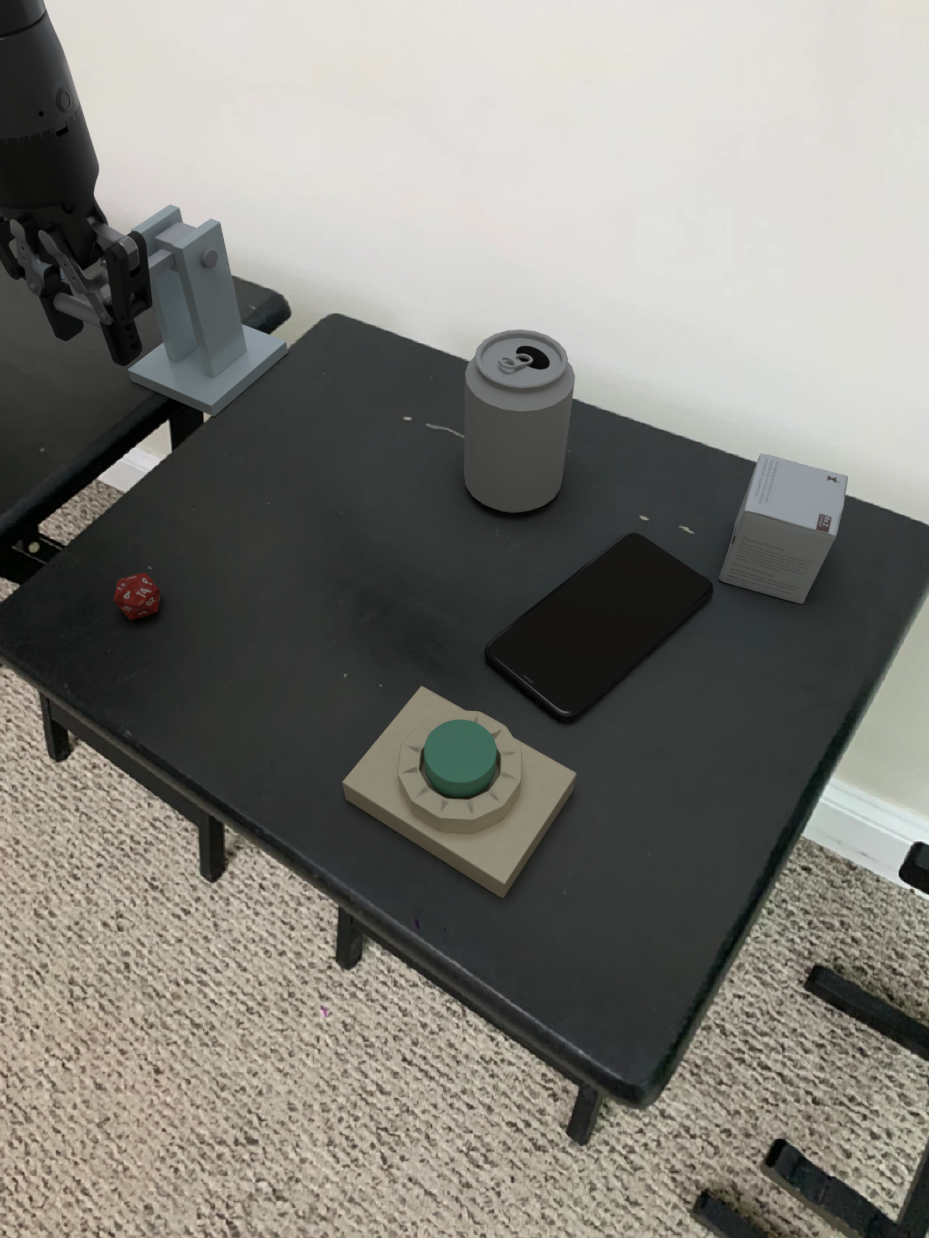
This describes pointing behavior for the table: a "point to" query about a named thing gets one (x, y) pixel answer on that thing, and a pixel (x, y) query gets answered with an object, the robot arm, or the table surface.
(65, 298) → the flush lever
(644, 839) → the table surface
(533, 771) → the green push button box
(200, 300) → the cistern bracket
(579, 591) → the smartphone
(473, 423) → the can
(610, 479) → the table surface
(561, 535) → the table surface
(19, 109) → the robot arm
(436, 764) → the flush button
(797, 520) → the white cardboard box
